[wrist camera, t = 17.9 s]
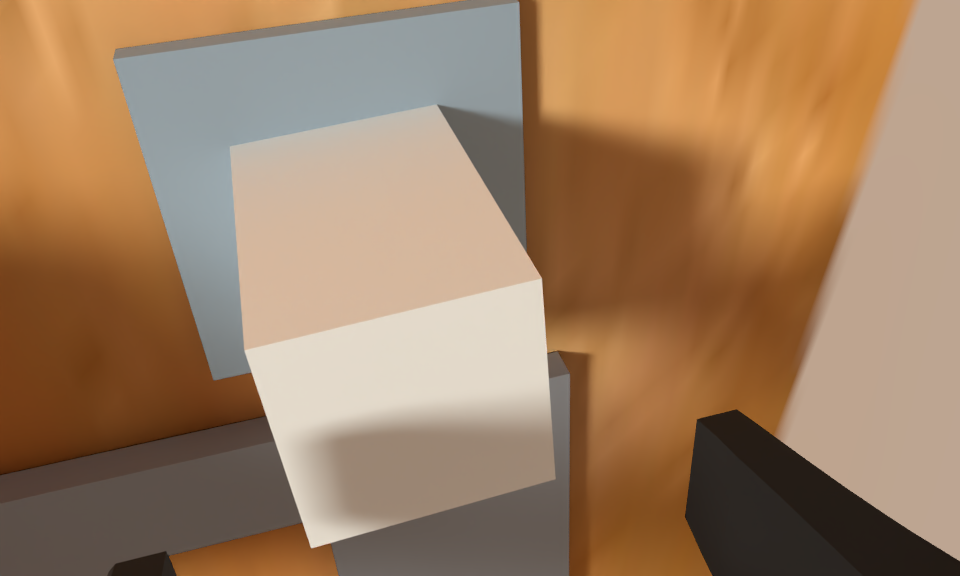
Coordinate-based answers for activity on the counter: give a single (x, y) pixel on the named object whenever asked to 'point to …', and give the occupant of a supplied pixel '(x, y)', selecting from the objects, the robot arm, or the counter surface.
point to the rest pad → (312, 120)
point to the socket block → (264, 509)
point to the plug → (389, 323)
